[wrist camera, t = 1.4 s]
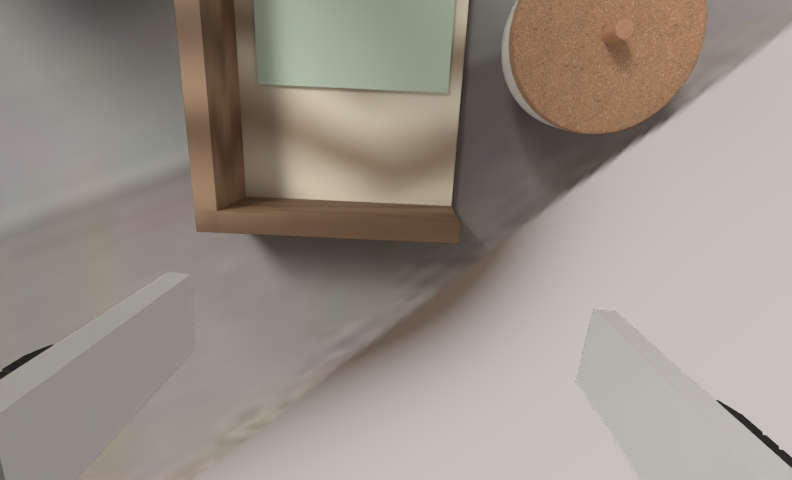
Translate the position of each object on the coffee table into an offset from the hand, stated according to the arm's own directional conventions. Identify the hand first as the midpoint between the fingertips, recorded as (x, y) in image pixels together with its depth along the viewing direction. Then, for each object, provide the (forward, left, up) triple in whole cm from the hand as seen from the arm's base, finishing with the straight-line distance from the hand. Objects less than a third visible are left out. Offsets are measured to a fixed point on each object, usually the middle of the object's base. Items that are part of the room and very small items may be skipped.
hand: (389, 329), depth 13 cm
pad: (-16, -4, -21) cm, 26 cm away
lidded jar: (-12, +11, -21) cm, 27 cm away
